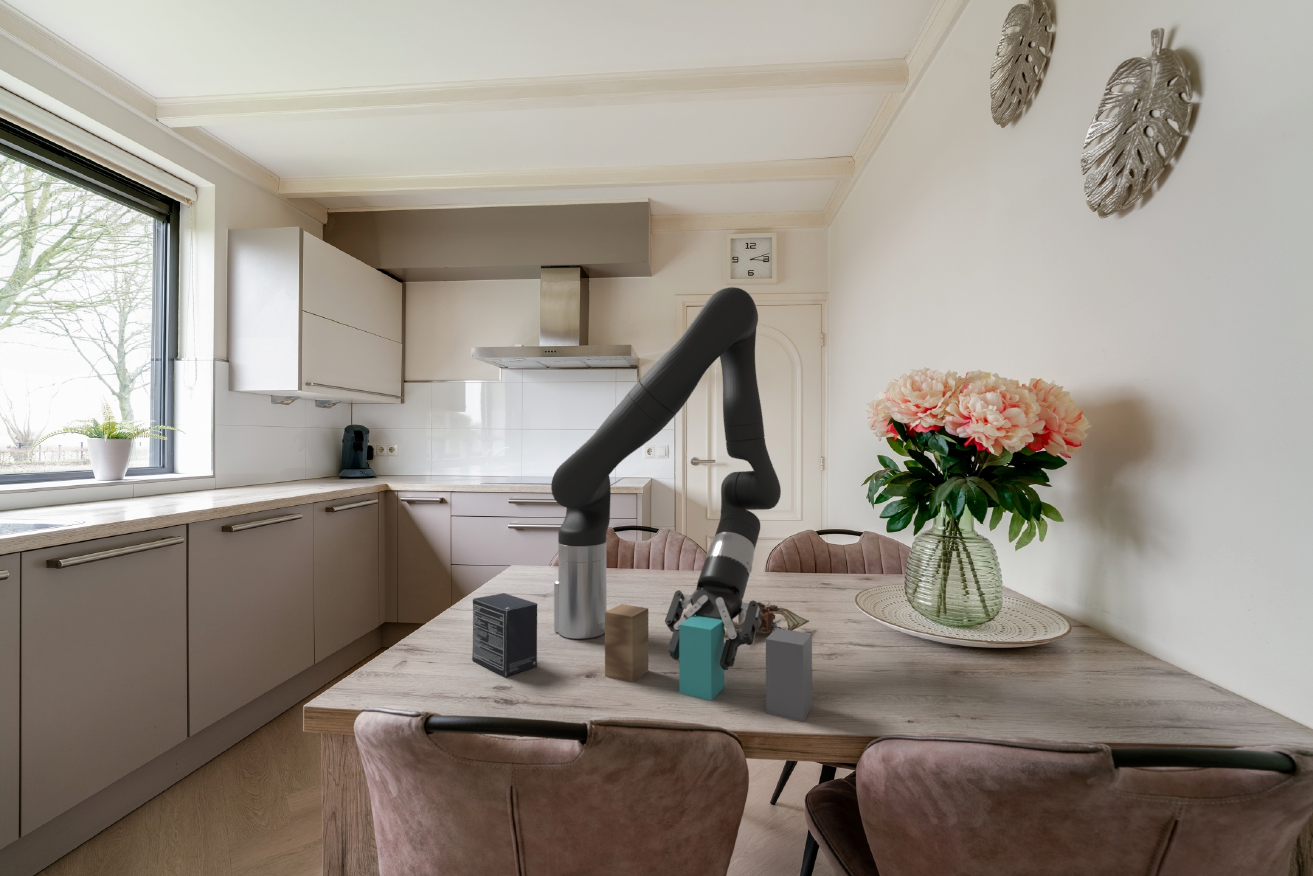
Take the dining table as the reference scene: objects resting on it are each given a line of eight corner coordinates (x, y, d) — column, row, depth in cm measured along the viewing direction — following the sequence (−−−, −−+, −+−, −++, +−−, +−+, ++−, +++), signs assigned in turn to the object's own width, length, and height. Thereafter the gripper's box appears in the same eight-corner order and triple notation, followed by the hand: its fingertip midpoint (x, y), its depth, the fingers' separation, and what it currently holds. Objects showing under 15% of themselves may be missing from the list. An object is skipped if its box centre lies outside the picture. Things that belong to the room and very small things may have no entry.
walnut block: (605, 676, 89) (604, 612, 89) (621, 665, 94) (621, 604, 94) (632, 682, 87) (632, 616, 87) (648, 670, 91) (648, 608, 91)
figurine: (726, 589, 122) (808, 595, 118) (726, 618, 122) (808, 625, 118) (715, 610, 103) (812, 617, 99) (714, 644, 102) (812, 653, 98)
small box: (540, 666, 93) (540, 602, 94) (505, 678, 89) (505, 610, 89) (504, 650, 101) (504, 590, 101) (470, 661, 96) (470, 598, 96)
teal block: (679, 693, 83) (679, 624, 83) (693, 680, 88) (693, 615, 88) (711, 700, 81) (710, 629, 81) (724, 687, 85) (724, 620, 85)
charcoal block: (766, 713, 77) (765, 638, 77) (776, 698, 81) (776, 628, 81) (803, 721, 75) (802, 645, 75) (812, 706, 79) (811, 633, 79)
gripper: (680, 549, 94) (646, 641, 84) (764, 557, 87) (738, 659, 77) (694, 575, 99) (663, 665, 89) (774, 584, 92) (751, 683, 82)
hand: (698, 662), depth 83 cm, fingers open, 7 cm apart
